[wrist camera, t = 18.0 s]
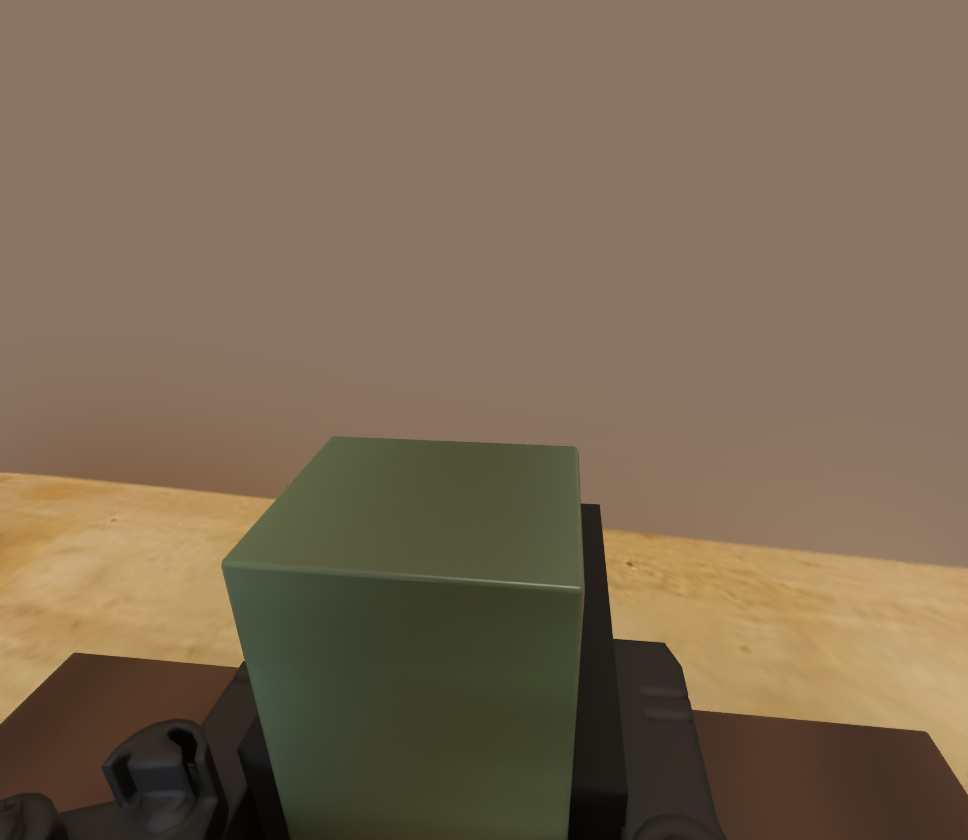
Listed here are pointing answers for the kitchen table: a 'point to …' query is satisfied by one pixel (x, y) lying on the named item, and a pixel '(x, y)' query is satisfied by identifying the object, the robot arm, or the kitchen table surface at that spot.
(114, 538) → the kitchen table surface
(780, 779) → the walnut board
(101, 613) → the kitchen table surface
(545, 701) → the green block on base
